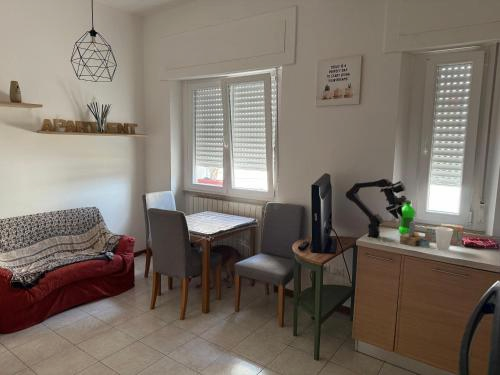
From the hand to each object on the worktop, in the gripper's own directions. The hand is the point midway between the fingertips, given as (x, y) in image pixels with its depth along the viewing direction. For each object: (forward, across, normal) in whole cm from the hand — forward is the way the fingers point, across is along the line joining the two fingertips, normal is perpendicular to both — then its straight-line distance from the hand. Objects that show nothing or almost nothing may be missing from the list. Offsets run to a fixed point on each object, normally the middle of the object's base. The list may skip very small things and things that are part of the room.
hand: (400, 217), depth 229 cm
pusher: (+13, 0, -2) cm, 13 cm away
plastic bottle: (+14, +19, +8) cm, 25 cm away
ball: (+13, 0, -5) cm, 14 cm away
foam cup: (+26, 0, -16) cm, 31 cm away
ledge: (+18, 0, 0) cm, 18 cm away
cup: (+21, 0, -6) cm, 22 cm away
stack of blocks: (+25, +18, -13) cm, 33 cm away
